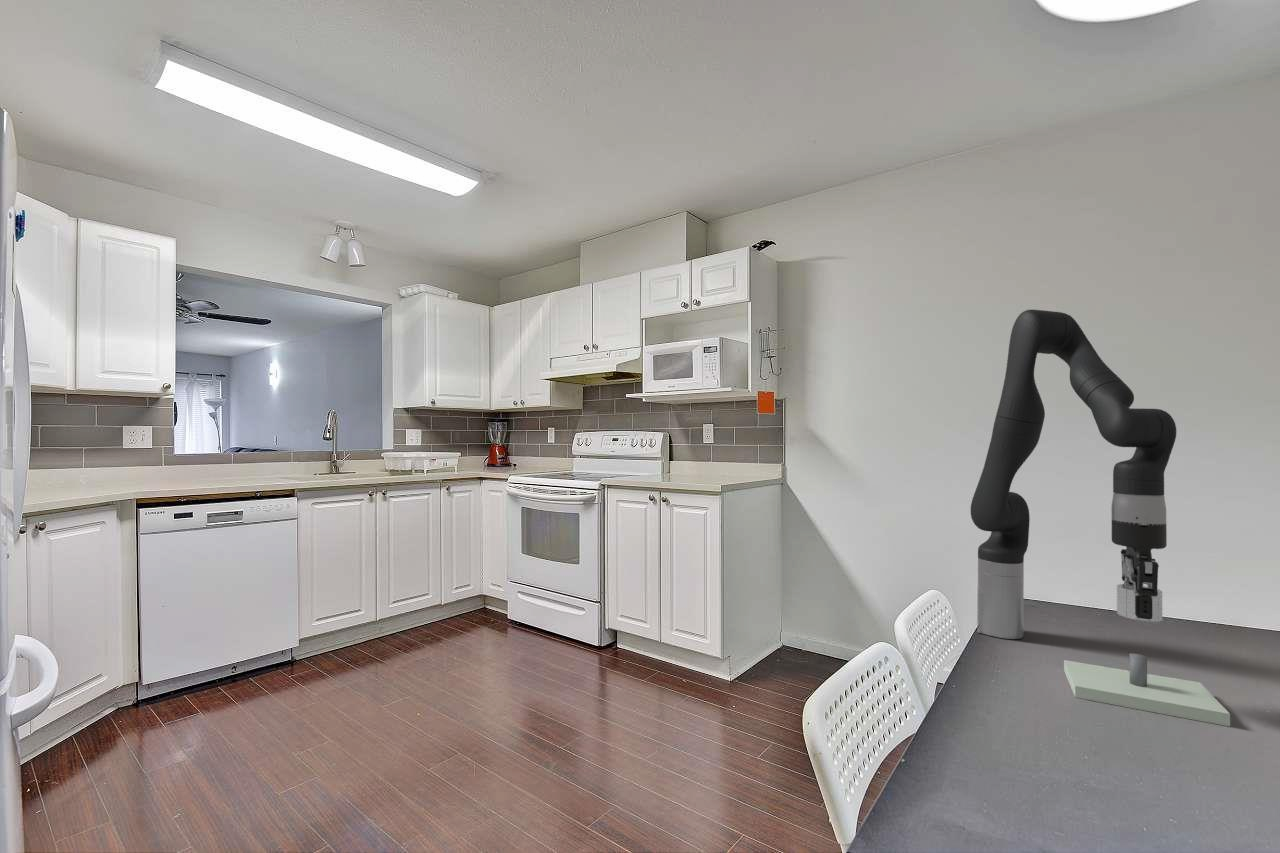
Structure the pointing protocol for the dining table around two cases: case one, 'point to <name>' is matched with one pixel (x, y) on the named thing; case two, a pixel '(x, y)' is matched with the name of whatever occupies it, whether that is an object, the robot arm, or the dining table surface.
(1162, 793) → the dining table surface
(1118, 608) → the cylinder
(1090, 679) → the post base
